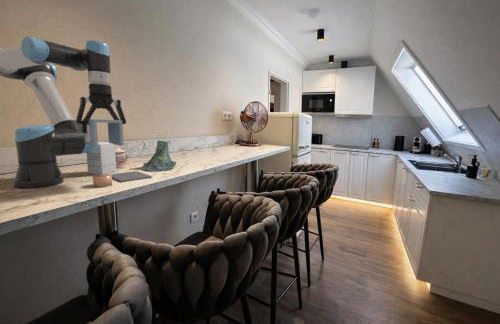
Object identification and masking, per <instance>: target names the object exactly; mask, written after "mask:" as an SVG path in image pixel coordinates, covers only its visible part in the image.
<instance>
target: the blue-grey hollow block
mask: <svg viewBox="0 0 500 324" xmlns="http://www.w3.org/2000/svg"><path fill="white" fill-rule="evenodd" d="M97 123H102V124H103V123H104V124H105V123H106V124H107V133H108V134H107V135H108V137H107V138H108V143H111V144H115V145H116V146H120V147H121V146H123V147H124V129H123V127H124V126H123V125H124V124H123V125H122V120H120V119H119V120H114V119H103V118H102V119H95V118H94V119H93V118H90V119H89V121H88V123H87V125H89V130H90V142H86V133H84V141H85V144H87V145H91V146H94V147H98V142H99V141H98V139H99V138H98V124H97Z"/></svg>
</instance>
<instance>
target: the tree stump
mask: <svg viewBox="0 0 500 324" xmlns="http://www.w3.org/2000/svg"><path fill="white" fill-rule="evenodd" d="M156 142H157V143H156V148H155V153H154V154H153V155H152V156H151V159H149V160H148V161H147V162H144V163H143V165H142V167H141V168H140V170H142V171H144V172H150V173H151V172H152V173H153V172H154V173H155V172H156V173H157V172H166V171H170V170H172V169H173V168H175V166H176V165H177V161H174V160H172V157H170V153H169V142H168V141H164V140H157V141H156Z"/></svg>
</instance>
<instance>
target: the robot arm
mask: <svg viewBox="0 0 500 324" xmlns="http://www.w3.org/2000/svg"><path fill="white" fill-rule="evenodd" d="M109 48H110V46H109V45H108V44H107V43H105V42H103V41H100V40H96V39H95V40H93V39H92V40H91V39H90V40H89V39H88V40H87V41H86V42H85V48H83V49H79V48H76V47H75V48H74V47H71V46H67V45H63V44H61V43H57V42H52V41H48V40H45V39H42V38H39V37H33V36H25V37H23V39H22V40H21V44H20V45H16V46H13V47H8V48H4V47H3V48H2V47H0V76H1V77H2V78H4V79H5V78H6V79H11V80H17V81H23V83H24V84H25V86H26V87H27V88H28V89H31V90H32V91H33V93H34V95H35V96H36V99H37V100H38V102H39V104H40V106H41V107H42V109H43V111H44V113H45V115H46V116H47V119H48V121H49V122H50V124H37V125H36V124H35V125H26V126H25V125H24V126H21V127H18V128H16V130H15V133H14V135H15V138H14V142H15V146H16V155H17V163H18V166H17V170H16V174H15V176H14V181H13V183H14V187H15V188H19V189H35V188H37V189H38V188H46V187H52V186H55V185H58V184H59V185H60V184H62V183H64V181H65V179H64V178H65V177H64V174H63V173H62V171H61V169H60V167H59V165H58V161H57V157H59V156H62V157H63V156H69V155H70V156H72V155H83V154H87V153H88V152H90V151H91V149H92V148H93V146H91V145H87V144H85V141H84V133H86V142H90V130H89V125H87V123H88V121H89V119H92V118H91V117H92V116H93V114H94V112H95V111H96V110H98V109H103V110H106V111H108V113H109V114H110V116H111V118H112V120H122V125H125V124H127V120H126V118H125V113H124V112H123V109H122V104H121V103H122V101H121V100H120V99H113V97H112V94H113V93H112V86H111V85H112V78H111V77H112V76H111V58H110V56H111V55H110V49H109ZM55 65H56V66H59V67H64V68H70V69H72V70H74V71H80V72H85V71H87V79H88V81H87V82H88V83H89V84H88V93H89V95H88V97H84V96H81V97H79V102H80V103H79V107H78V111H77V115H76V119H75V118H74V116H73V115H72V113H71V111H70V110H69V107H68V105H66V103H65V102H66V101H65V100H64V98H63V97H62V95H61V94H60V92H59V89H57V87H56V85H55V84H56V82H57V79H58V73H57V68H56V66H55ZM89 102H90V104H91V106H90V108H89V109H88V111H87V113H86V114H85V116H84V112H85V108H86V105H87V103H89ZM112 104H114V106H115V109H116V112H117V113H116V112H115V111H114V108H113V107H112ZM118 116H119V117H118ZM83 117H84V118H83Z"/></svg>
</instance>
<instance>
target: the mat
mask: <svg viewBox="0 0 500 324" xmlns="http://www.w3.org/2000/svg"><path fill="white" fill-rule="evenodd" d="M110 174H111V175H112V180H115V181H118V182H119V183H126V182H133V181H139V180H144V179H152V177H153V176H152V175H149V174H146V173H143V172H140V171H137V170H134V171H127V172H126V171H124V172H118V173H110Z"/></svg>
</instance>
